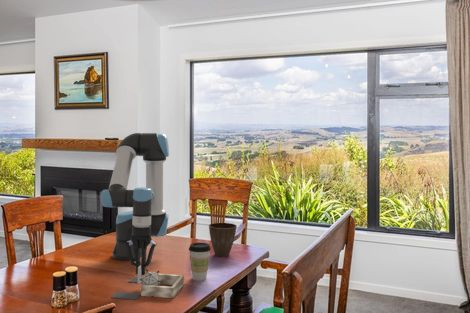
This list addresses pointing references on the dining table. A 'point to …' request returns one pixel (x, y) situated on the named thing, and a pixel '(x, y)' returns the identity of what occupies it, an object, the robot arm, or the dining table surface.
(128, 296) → the mats
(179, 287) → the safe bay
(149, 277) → the game die
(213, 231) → the plant pot
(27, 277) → the dining table surface
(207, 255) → the coffee cup
